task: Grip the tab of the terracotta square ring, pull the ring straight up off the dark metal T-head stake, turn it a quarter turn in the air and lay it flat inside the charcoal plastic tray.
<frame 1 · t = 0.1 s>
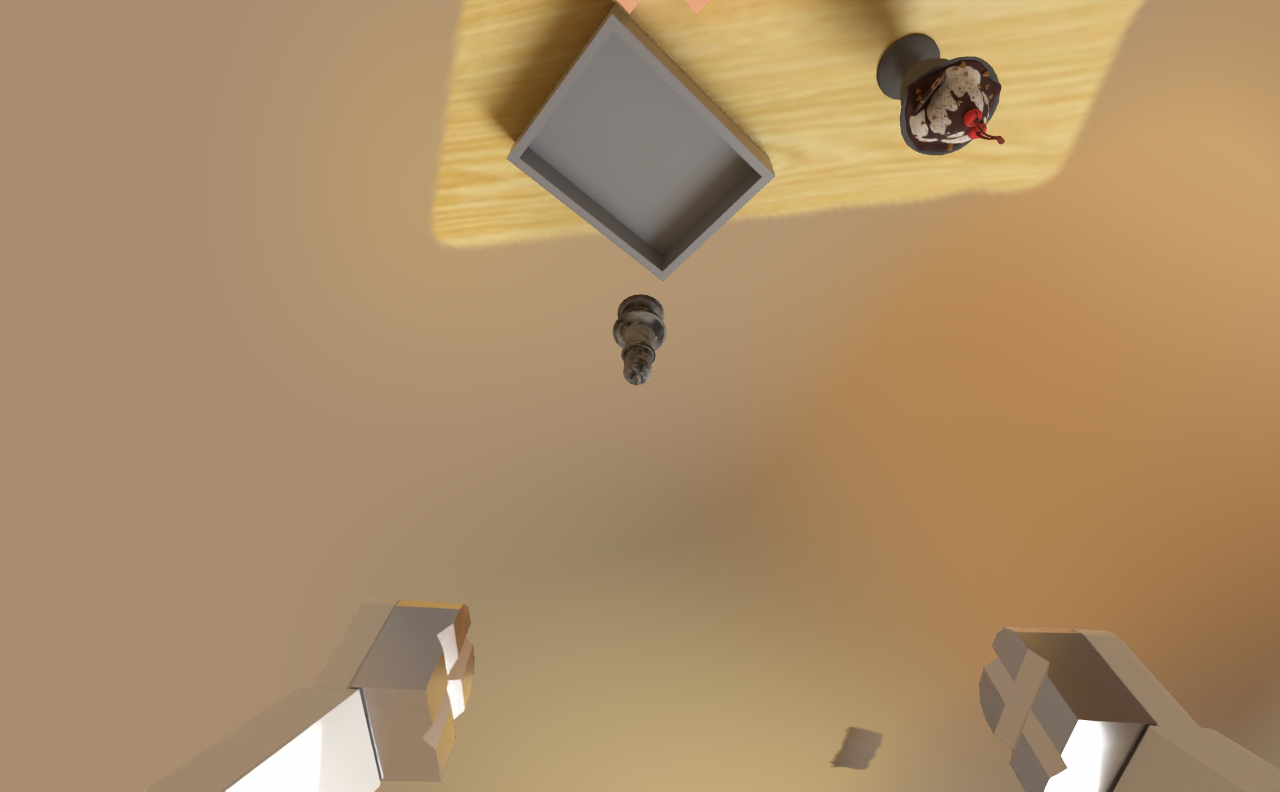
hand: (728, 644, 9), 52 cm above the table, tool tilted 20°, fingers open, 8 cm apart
salt shaker: (640, 313, 69), on the table
sundae: (908, 66, 50), on the table
tray: (642, 150, 56), on the table
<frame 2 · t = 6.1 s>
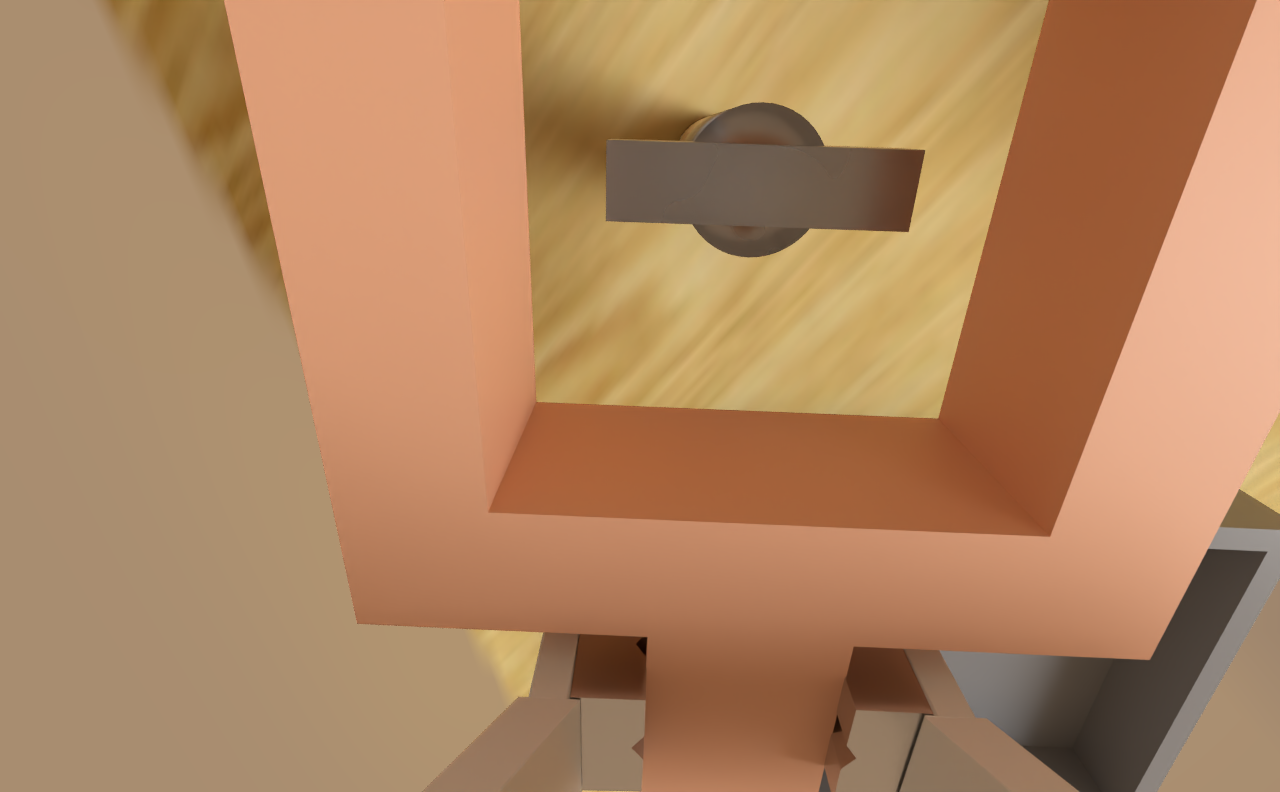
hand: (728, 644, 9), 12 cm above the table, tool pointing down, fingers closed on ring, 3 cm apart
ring: (759, 200, 8), point 11 cm above the table, touching gripper
stake: (714, 159, 18), on the table
tray: (900, 611, 25), on the table
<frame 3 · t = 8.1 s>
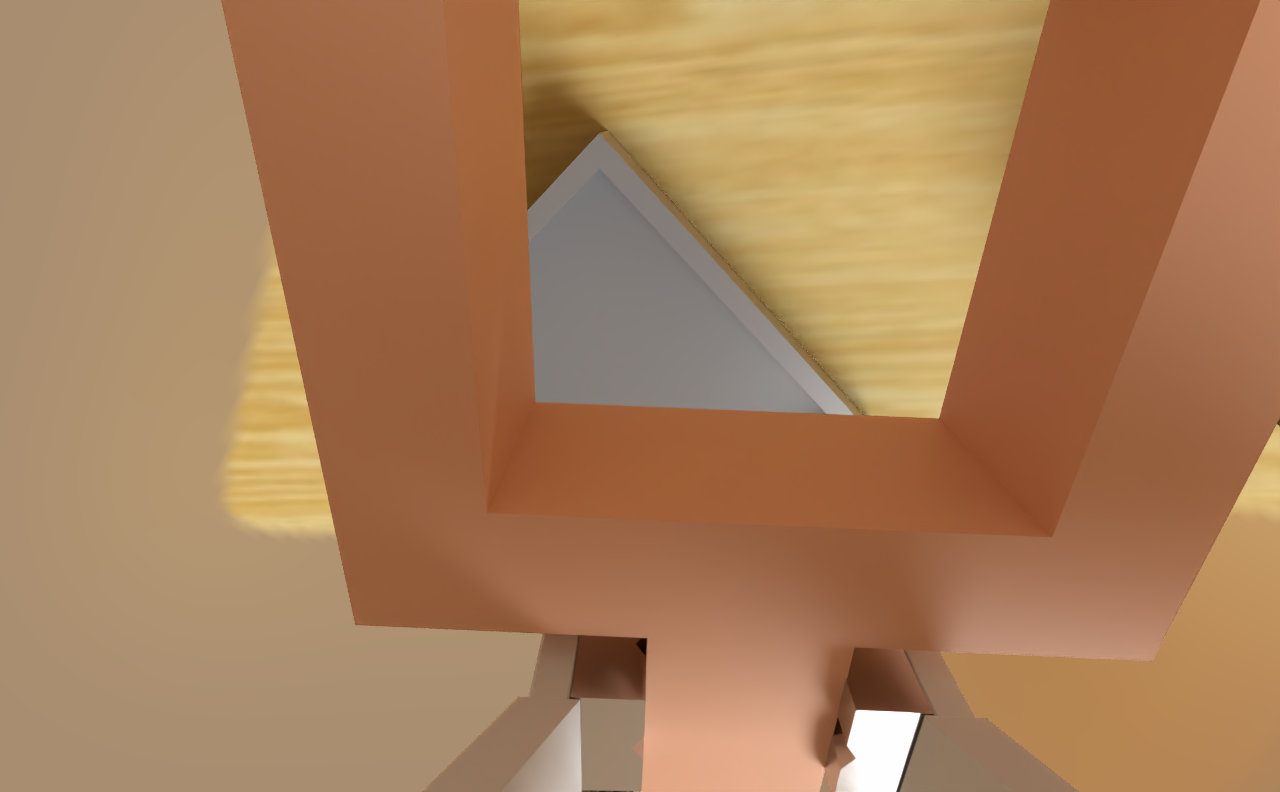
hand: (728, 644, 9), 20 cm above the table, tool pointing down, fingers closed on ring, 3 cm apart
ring: (759, 199, 8), point 18 cm above the table, touching gripper
tray: (637, 396, 29), on the table
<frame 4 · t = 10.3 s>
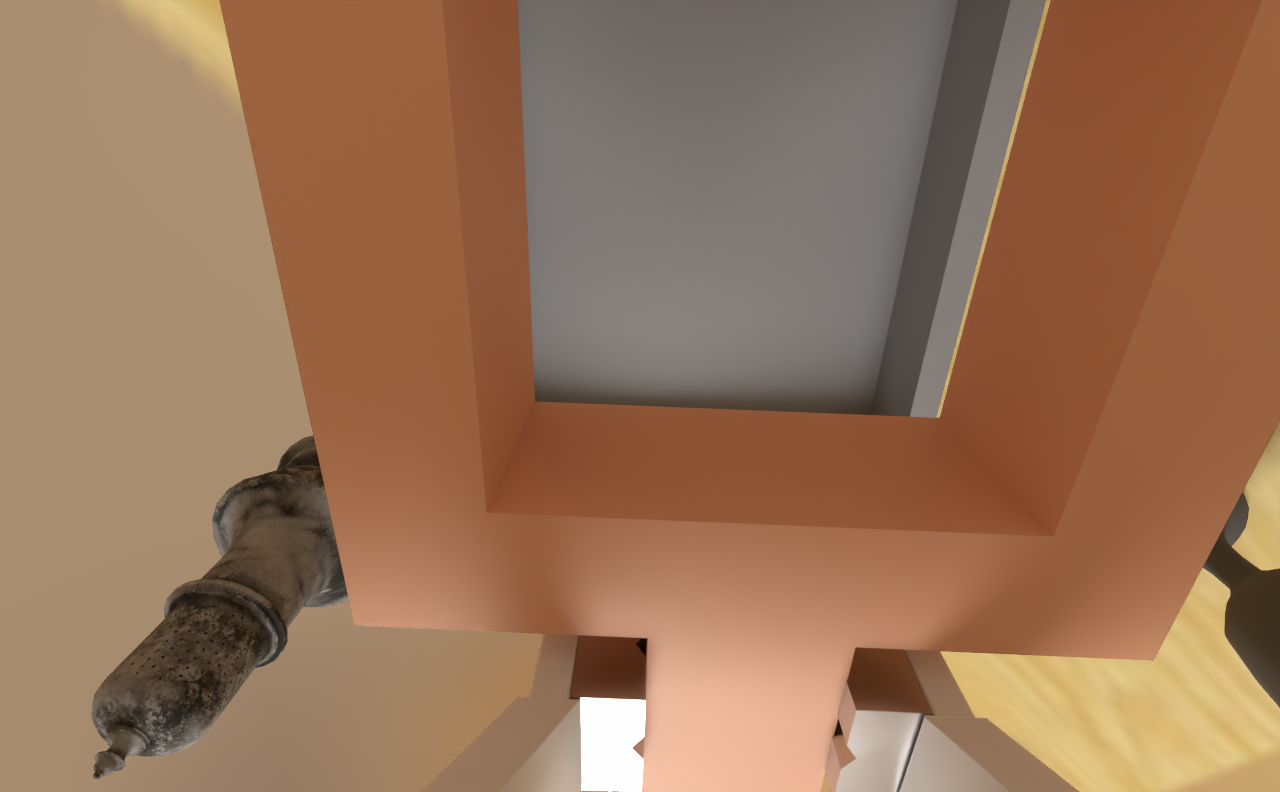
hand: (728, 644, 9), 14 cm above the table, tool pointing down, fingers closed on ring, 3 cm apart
salt shaker: (345, 487, 25), on the table
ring: (760, 198, 8), point 12 cm above the table, touching gripper
sundae: (1174, 523, 24), on the table
tray: (703, 198, 20), on the table
when the fingers open (3 cm above the table, at t = 12.3 s): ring stays where it is, resting on tray.
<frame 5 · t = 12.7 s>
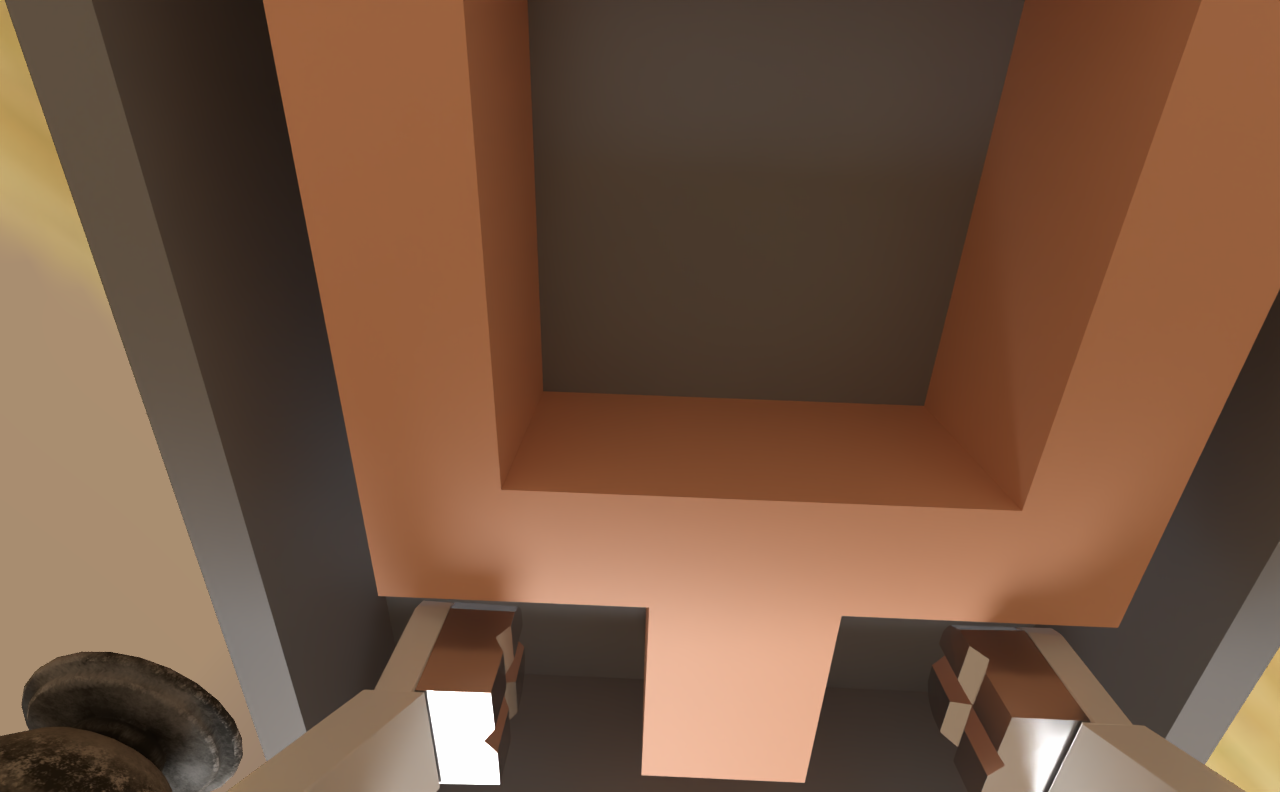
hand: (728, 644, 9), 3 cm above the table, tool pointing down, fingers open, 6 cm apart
salt shaker: (143, 720, 15), on the table
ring: (753, 199, 9), point 1 cm above the table, touching tray
tray: (734, 280, 10), on the table
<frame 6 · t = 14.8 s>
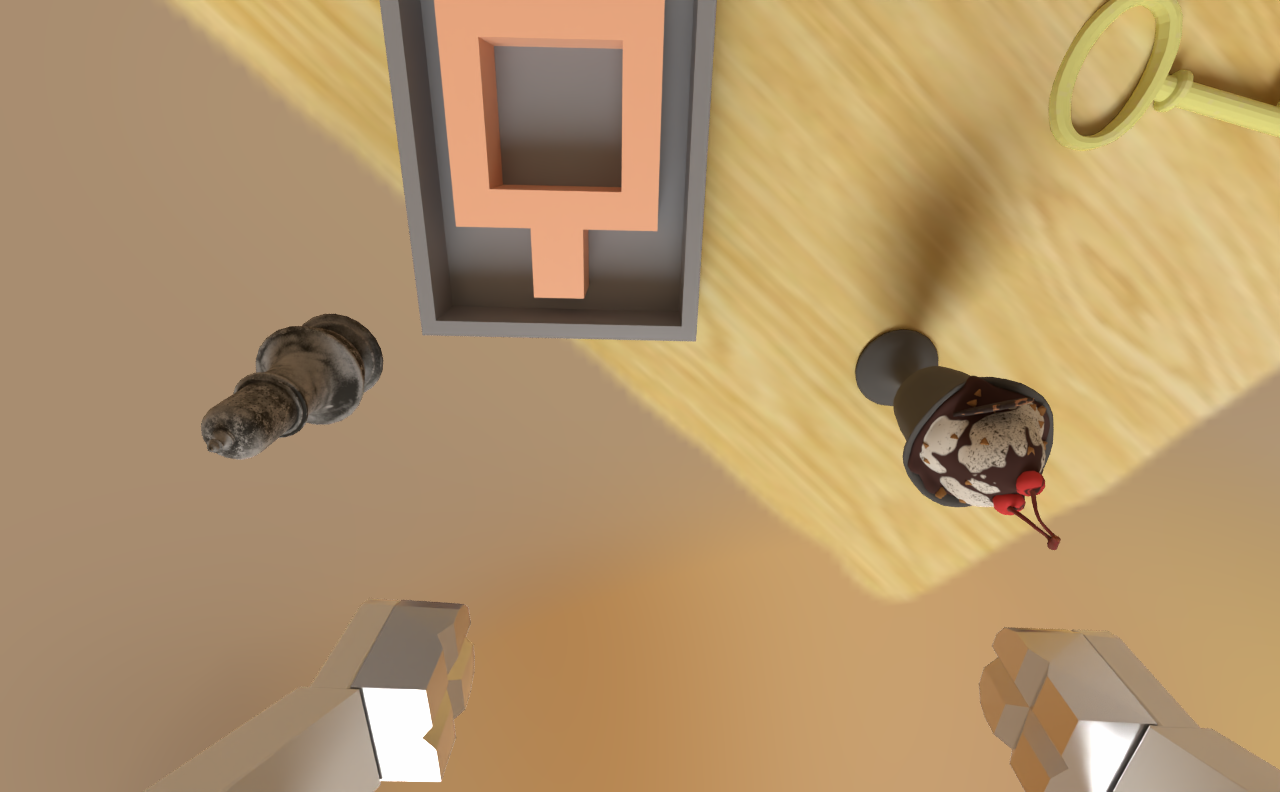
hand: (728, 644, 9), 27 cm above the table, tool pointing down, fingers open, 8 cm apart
salt shaker: (341, 354, 37), on the table
key: (1154, 90, 31), on the table
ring: (561, 119, 31), point 1 cm above the table, touching tray
sundae: (895, 367, 37), on the table
tray: (563, 148, 32), on the table
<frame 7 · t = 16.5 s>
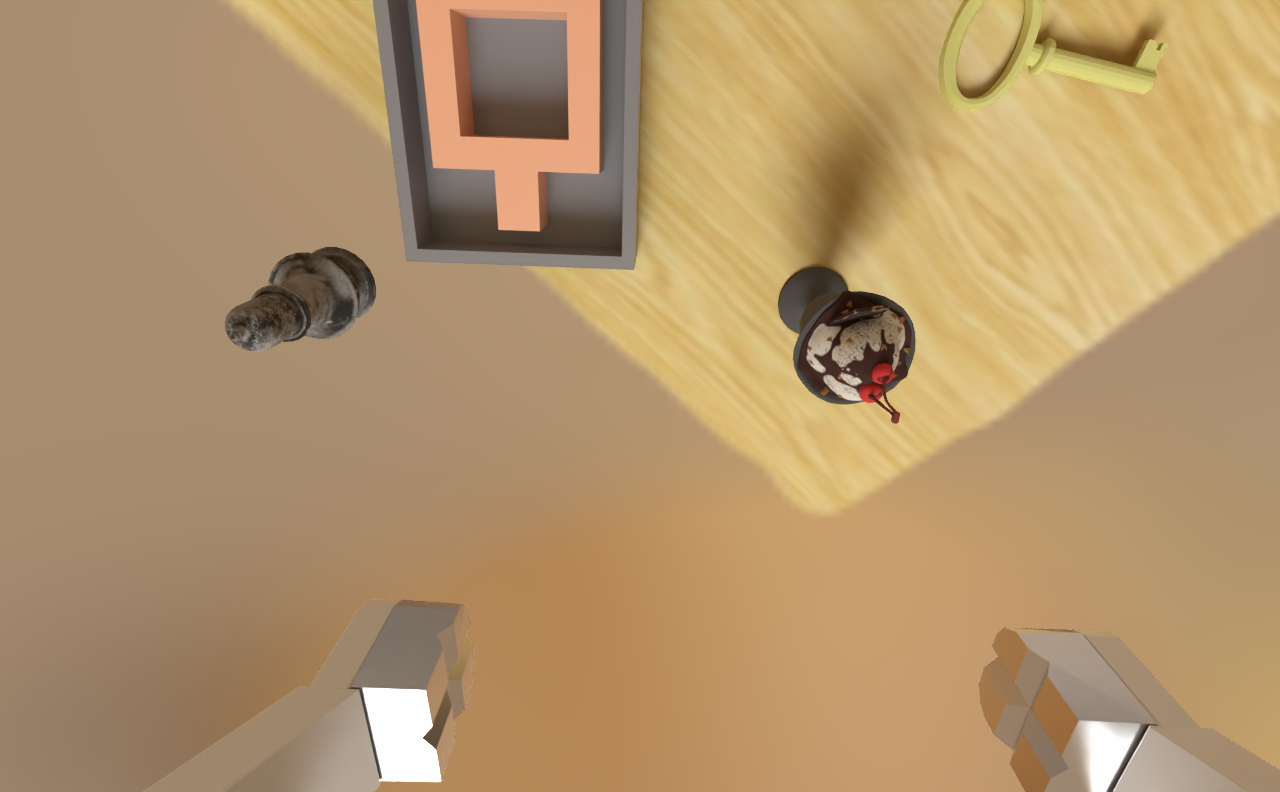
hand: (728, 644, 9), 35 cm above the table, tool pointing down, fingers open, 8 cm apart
salt shaker: (340, 283, 44), on the table
key: (1031, 57, 37), on the table
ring: (522, 80, 37), point 1 cm above the table, touching tray
sundae: (813, 301, 43), on the table
tray: (525, 105, 38), on the table
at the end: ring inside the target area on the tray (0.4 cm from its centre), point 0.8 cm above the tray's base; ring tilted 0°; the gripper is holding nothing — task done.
